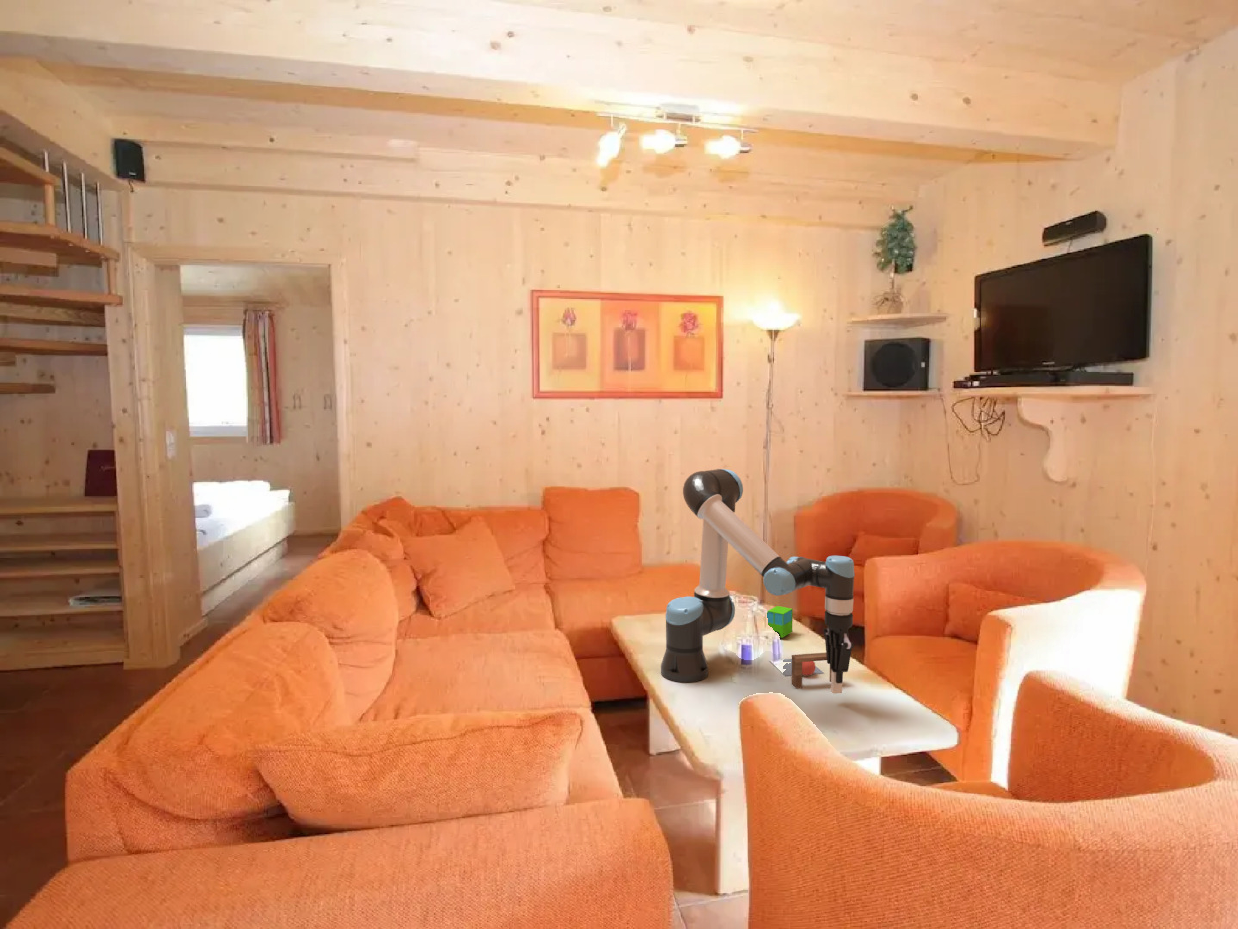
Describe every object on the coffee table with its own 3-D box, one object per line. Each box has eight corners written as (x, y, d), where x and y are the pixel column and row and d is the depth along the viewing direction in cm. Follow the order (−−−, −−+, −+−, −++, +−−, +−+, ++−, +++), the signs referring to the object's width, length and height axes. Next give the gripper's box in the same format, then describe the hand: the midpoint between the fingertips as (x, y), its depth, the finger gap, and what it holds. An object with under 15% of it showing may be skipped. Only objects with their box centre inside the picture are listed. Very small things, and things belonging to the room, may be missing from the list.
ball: (800, 657, 201) (793, 658, 207) (802, 675, 199) (795, 676, 205) (816, 656, 202) (809, 657, 207) (819, 674, 200) (812, 675, 205)
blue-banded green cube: (761, 627, 250) (761, 601, 250) (793, 634, 242) (793, 608, 241) (748, 634, 243) (748, 608, 242) (781, 641, 234) (781, 614, 233)
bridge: (840, 684, 196) (840, 655, 195) (795, 688, 194) (796, 658, 193) (835, 680, 199) (836, 651, 198) (791, 684, 196) (791, 655, 196)
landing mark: (785, 676, 203) (785, 675, 202) (769, 661, 215) (769, 660, 215) (823, 673, 205) (823, 672, 205) (805, 658, 217) (805, 657, 217)
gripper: (863, 618, 176) (860, 701, 178) (839, 604, 189) (837, 682, 190) (838, 619, 174) (835, 703, 176) (815, 605, 187) (813, 683, 189)
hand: (836, 692), depth 183 cm, fingers closed
